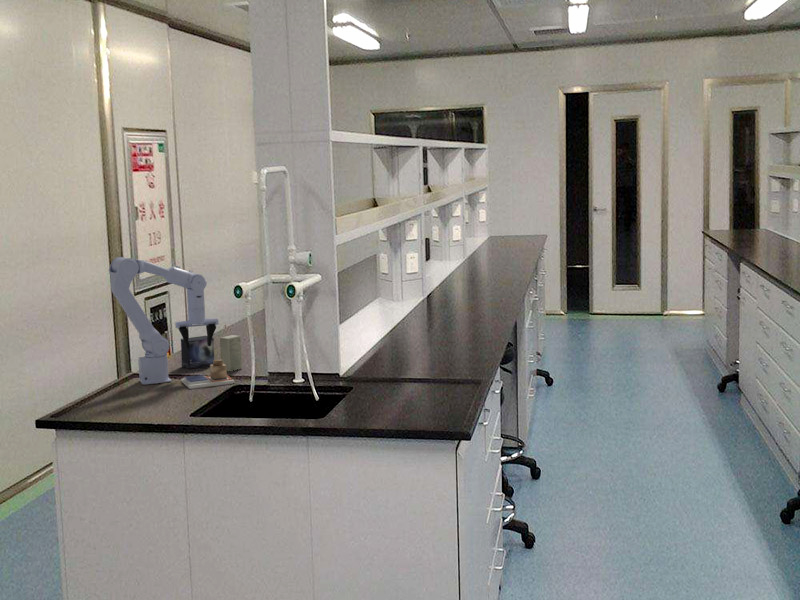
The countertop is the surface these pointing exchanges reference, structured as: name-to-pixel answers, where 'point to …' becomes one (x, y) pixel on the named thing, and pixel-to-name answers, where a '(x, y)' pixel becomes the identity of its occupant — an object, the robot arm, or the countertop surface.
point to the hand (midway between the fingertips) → (198, 346)
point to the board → (204, 381)
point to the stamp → (218, 370)
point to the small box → (197, 352)
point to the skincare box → (231, 352)
